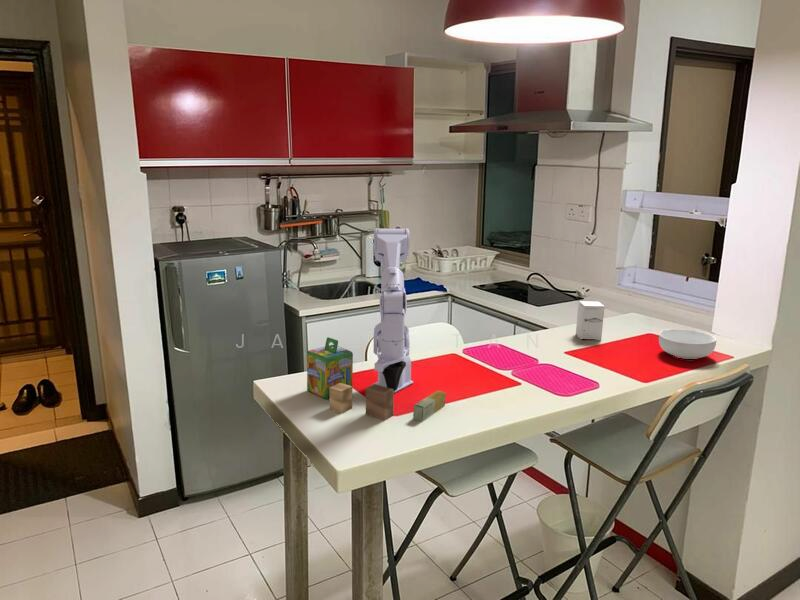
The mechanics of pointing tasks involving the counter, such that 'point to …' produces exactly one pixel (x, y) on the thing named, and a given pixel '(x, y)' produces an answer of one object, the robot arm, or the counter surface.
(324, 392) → the chalk box
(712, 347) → the cereal bowl
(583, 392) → the counter surface
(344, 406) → the oak block
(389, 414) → the walnut block
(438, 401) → the medication box
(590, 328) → the supplement box
